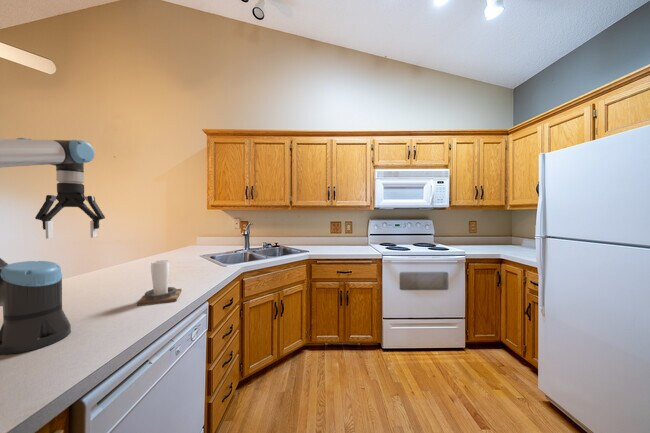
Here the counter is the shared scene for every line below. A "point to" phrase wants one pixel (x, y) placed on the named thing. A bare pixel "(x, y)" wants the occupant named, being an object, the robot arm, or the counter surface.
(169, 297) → the ring holder
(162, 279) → the drinking glass
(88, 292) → the counter surface
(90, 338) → the counter surface
